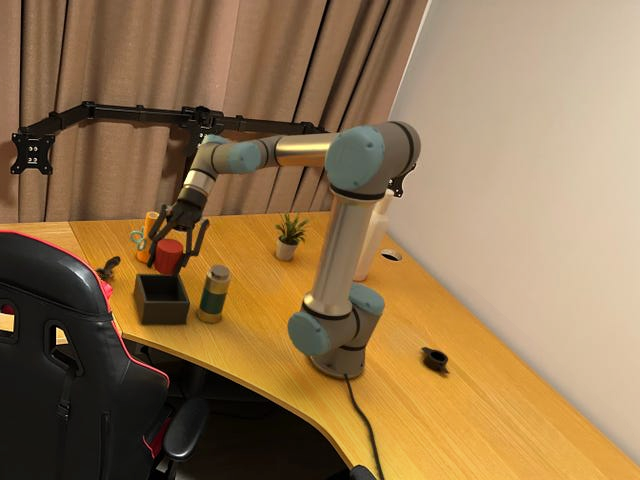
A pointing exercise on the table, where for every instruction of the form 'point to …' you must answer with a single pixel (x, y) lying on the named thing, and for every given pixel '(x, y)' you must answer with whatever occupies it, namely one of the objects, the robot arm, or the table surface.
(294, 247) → the house plant
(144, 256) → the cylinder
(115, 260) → the eagle figurine
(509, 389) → the table surface
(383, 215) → the bottle
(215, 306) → the spray can
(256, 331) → the table surface
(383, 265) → the table surface
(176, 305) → the bin
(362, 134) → the robot arm
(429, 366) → the black flanged ring
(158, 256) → the cap
